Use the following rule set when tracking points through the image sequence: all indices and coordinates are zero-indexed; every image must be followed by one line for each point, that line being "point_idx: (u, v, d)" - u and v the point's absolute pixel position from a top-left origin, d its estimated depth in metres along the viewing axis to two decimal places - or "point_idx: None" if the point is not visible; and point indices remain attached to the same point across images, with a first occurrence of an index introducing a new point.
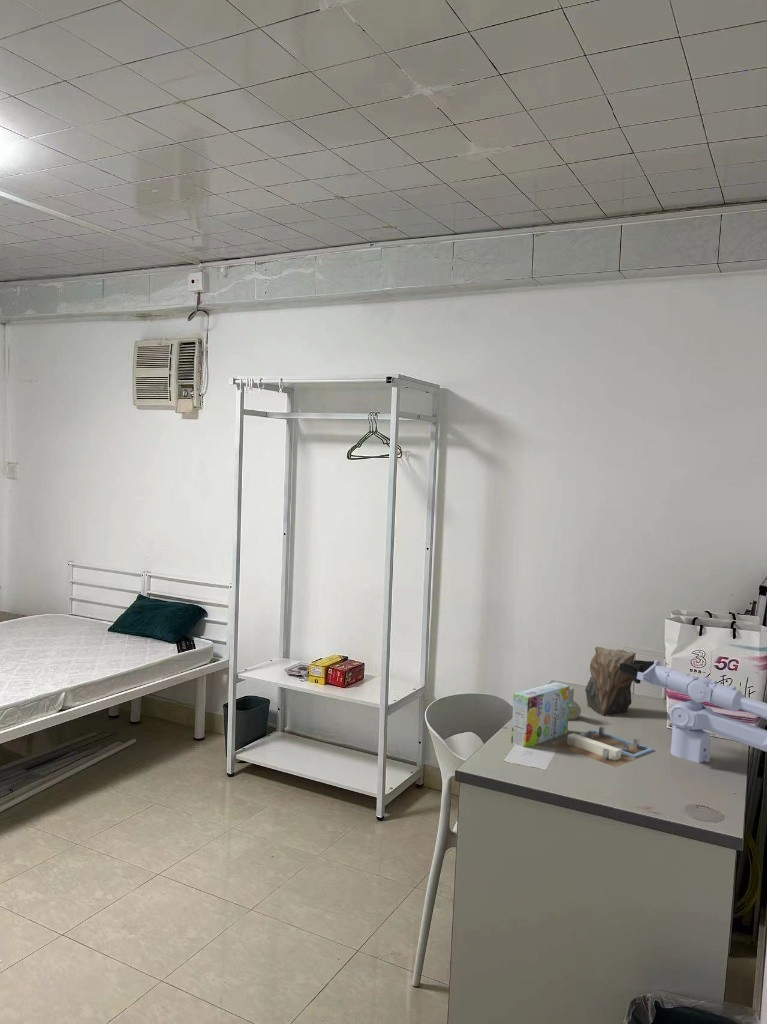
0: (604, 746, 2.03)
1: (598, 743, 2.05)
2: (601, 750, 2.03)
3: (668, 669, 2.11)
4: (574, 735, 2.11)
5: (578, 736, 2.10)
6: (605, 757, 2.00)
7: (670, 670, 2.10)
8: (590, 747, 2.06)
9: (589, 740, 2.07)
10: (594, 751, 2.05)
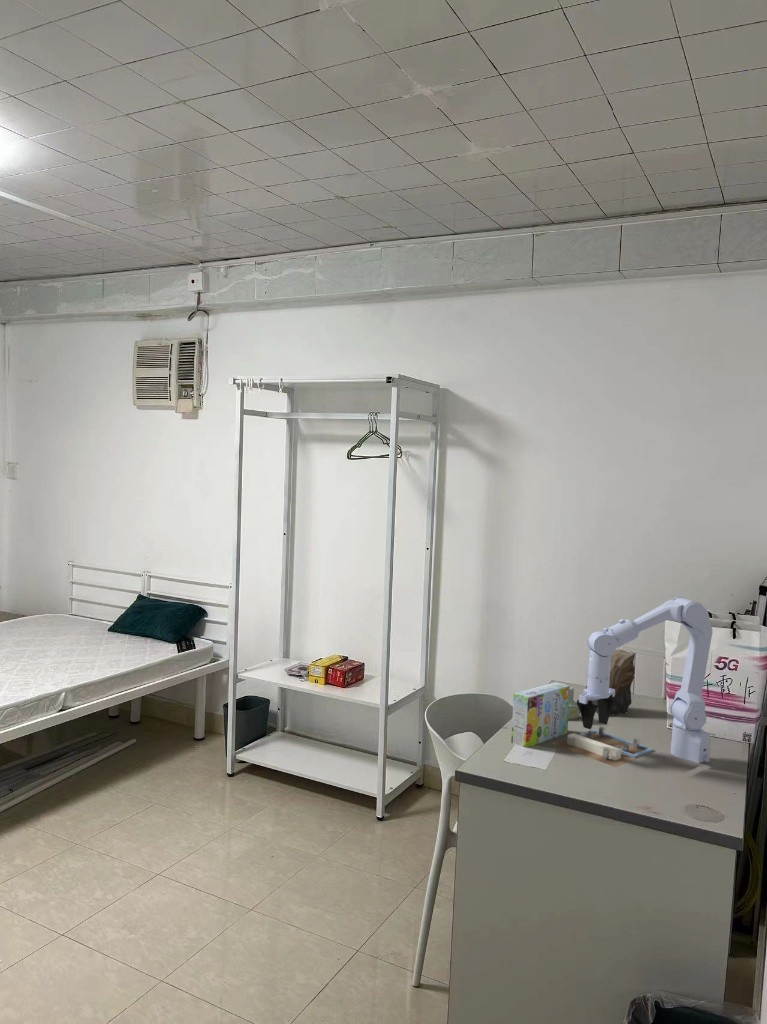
0: (604, 746, 2.03)
1: (598, 743, 2.05)
2: (601, 750, 2.03)
3: None
4: (574, 735, 2.11)
5: (578, 736, 2.10)
6: (605, 757, 2.00)
7: None
8: (590, 747, 2.06)
9: (589, 740, 2.07)
10: (594, 751, 2.05)
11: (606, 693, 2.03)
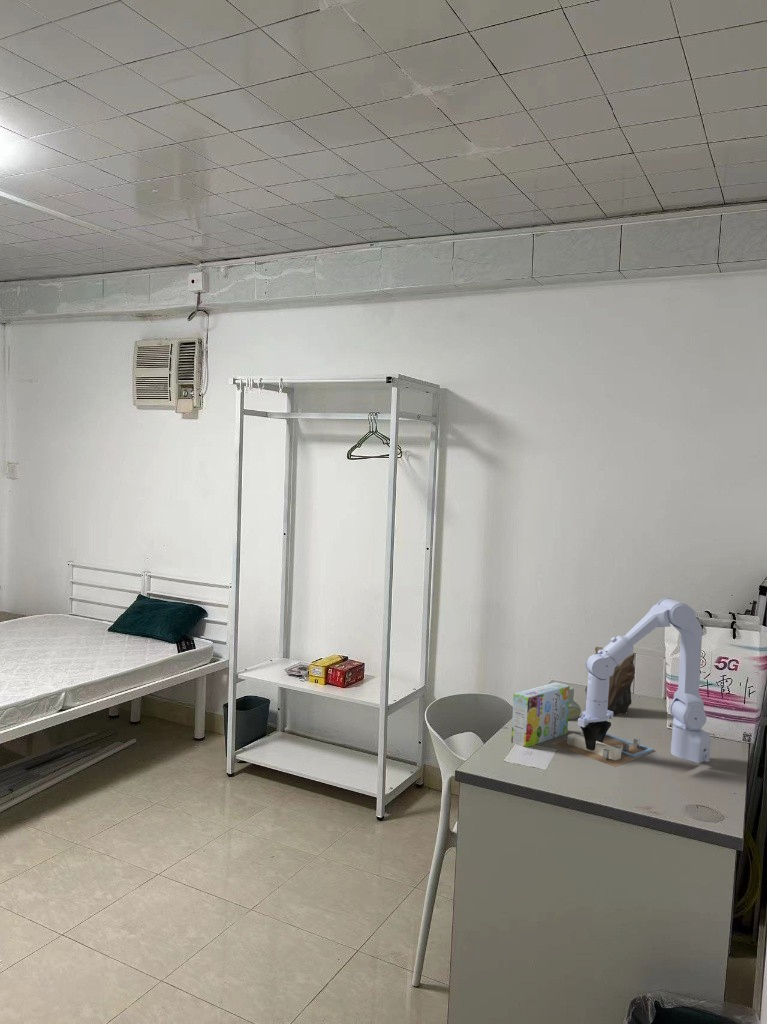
0: (604, 746, 2.03)
1: (598, 743, 2.05)
2: (601, 750, 2.03)
3: None
4: (574, 735, 2.11)
5: (578, 736, 2.10)
6: (605, 757, 2.00)
7: None
8: None
9: None
10: (594, 751, 2.05)
11: (604, 716, 2.04)
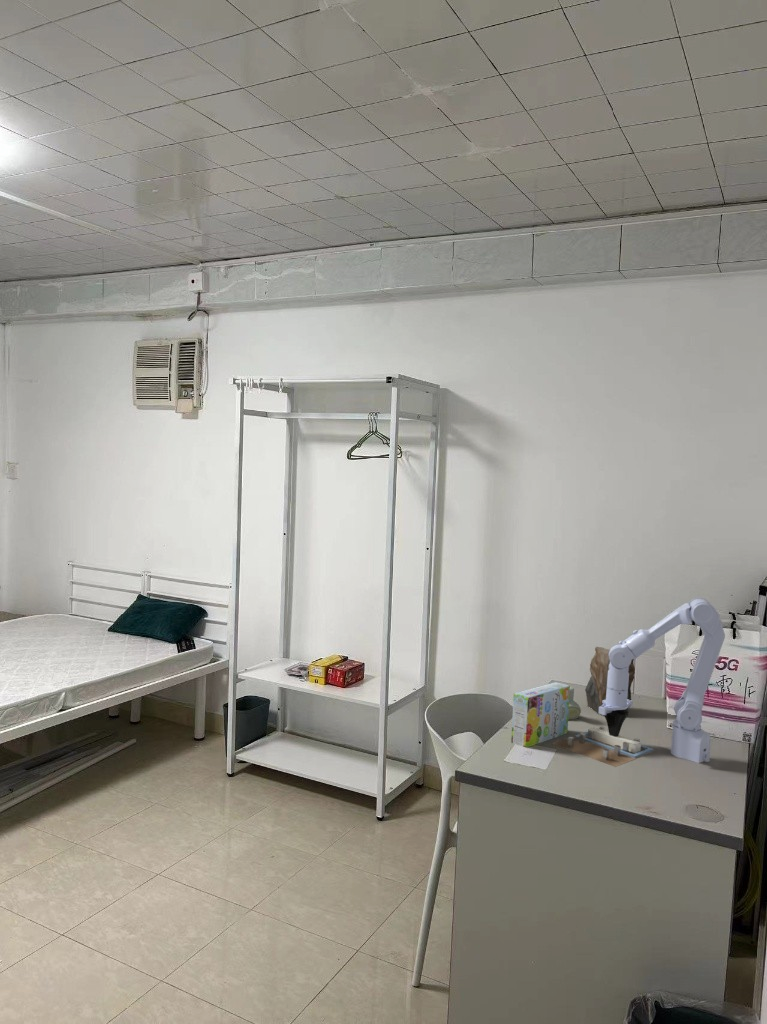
0: (624, 739, 2.10)
1: (618, 736, 2.12)
2: (621, 743, 2.10)
3: None
4: (594, 729, 2.17)
5: (598, 730, 2.17)
6: (605, 757, 2.00)
7: None
8: (610, 740, 2.12)
9: None
10: (614, 744, 2.11)
11: (624, 704, 2.10)
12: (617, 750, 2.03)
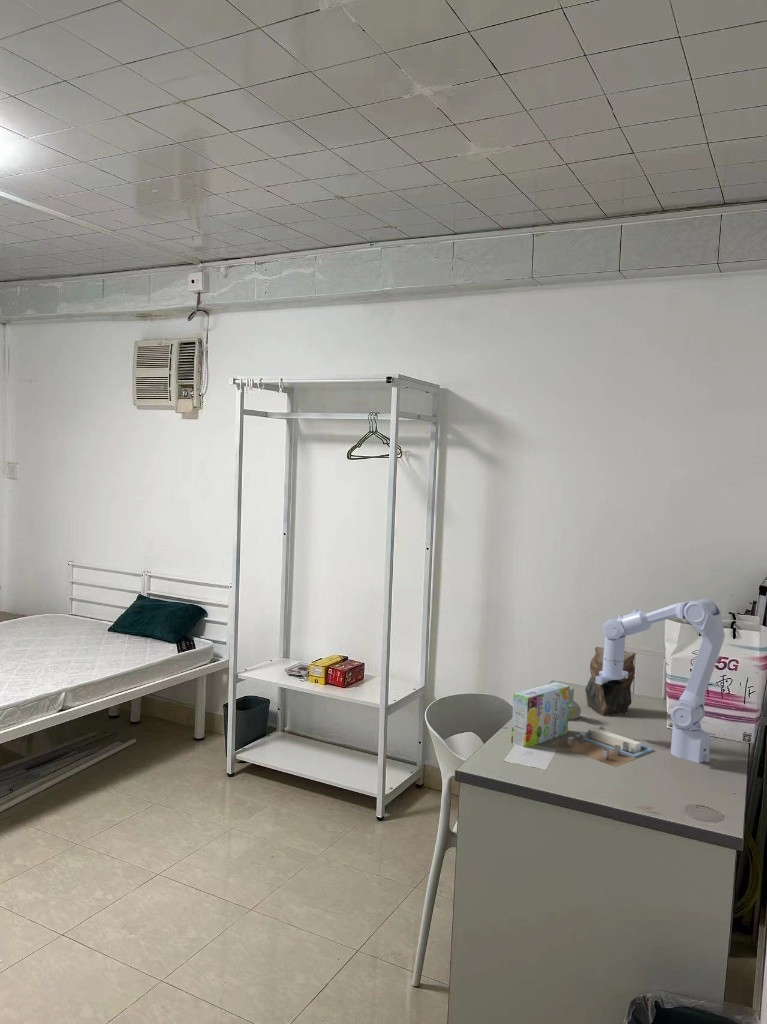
0: (624, 739, 2.10)
1: (618, 736, 2.12)
2: (621, 743, 2.10)
3: None
4: (594, 729, 2.17)
5: (598, 730, 2.17)
6: (605, 757, 2.00)
7: None
8: (610, 740, 2.12)
9: (609, 734, 2.14)
10: (614, 744, 2.11)
11: (620, 675, 2.19)
12: (617, 750, 2.03)
